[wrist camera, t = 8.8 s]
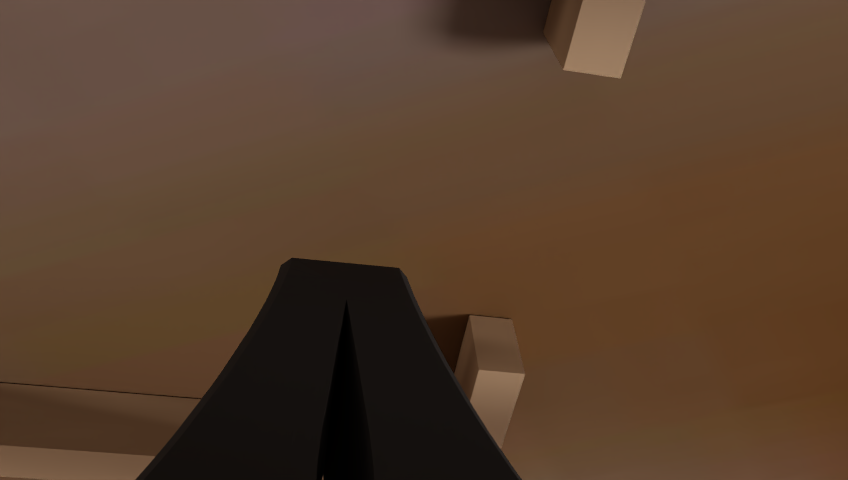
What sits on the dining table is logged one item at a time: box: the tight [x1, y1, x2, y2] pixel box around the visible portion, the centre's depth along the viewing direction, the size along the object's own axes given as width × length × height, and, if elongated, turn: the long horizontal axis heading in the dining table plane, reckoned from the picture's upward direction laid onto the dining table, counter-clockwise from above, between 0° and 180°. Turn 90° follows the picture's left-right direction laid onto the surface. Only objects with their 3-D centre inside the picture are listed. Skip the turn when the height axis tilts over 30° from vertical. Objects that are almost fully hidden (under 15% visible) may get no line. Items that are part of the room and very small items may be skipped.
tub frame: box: [0, 0, 646, 480], centre depth 18 cm, size 18×18×2 cm
